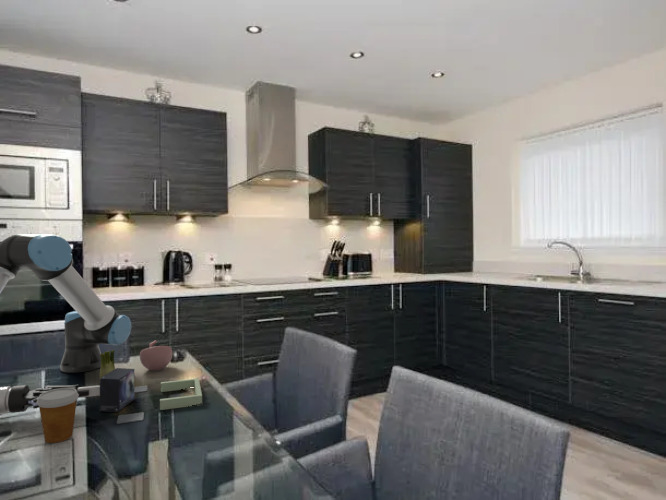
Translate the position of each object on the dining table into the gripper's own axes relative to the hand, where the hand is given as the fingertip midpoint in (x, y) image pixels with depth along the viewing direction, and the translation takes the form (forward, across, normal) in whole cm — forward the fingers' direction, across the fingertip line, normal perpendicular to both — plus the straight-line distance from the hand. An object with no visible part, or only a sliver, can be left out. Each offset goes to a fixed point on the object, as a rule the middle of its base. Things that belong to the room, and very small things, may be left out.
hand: (101, 390), depth 136 cm
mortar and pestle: (+15, -36, -6) cm, 39 cm away
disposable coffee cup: (-8, +17, -6) cm, 20 cm away
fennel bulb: (-1, -24, -6) cm, 25 cm away
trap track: (+17, -2, -6) cm, 18 cm away
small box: (+4, -1, -6) cm, 8 cm away
